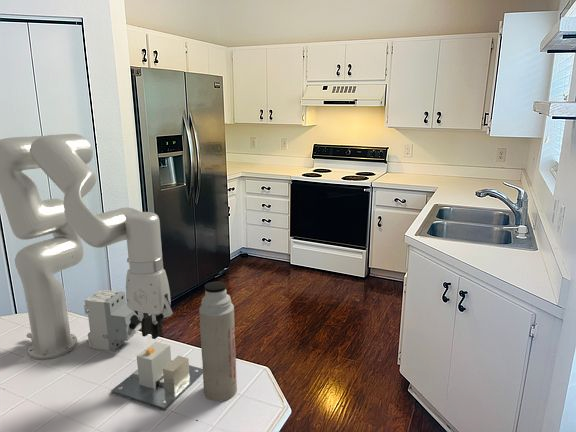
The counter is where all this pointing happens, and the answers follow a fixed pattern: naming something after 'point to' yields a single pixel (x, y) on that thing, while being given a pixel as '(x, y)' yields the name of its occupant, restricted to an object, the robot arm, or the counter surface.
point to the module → (153, 363)
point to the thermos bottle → (218, 343)
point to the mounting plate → (161, 384)
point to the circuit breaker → (110, 320)
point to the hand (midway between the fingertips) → (152, 334)
